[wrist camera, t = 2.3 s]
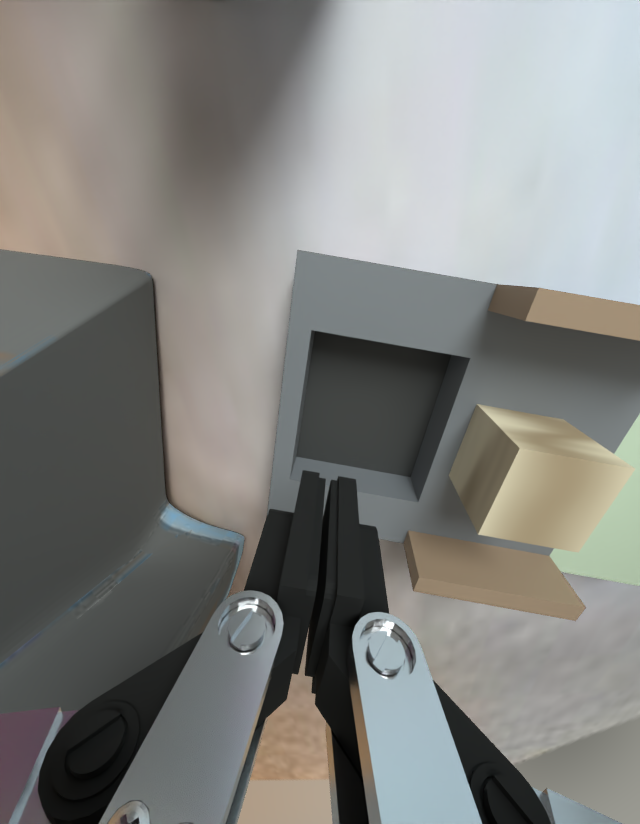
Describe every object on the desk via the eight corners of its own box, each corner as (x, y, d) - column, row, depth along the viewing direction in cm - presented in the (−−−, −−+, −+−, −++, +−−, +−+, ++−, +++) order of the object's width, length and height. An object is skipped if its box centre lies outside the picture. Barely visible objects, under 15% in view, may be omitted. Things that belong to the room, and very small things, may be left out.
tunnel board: (796, 338, 15) (1028, 372, 10) (627, 554, 20) (719, 647, 15) (305, 253, 15) (283, 243, 10) (275, 491, 21) (252, 561, 16)
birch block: (563, 419, 15) (635, 468, 11) (526, 489, 16) (578, 552, 13) (476, 403, 15) (519, 448, 11) (448, 475, 16) (477, 534, 13)
